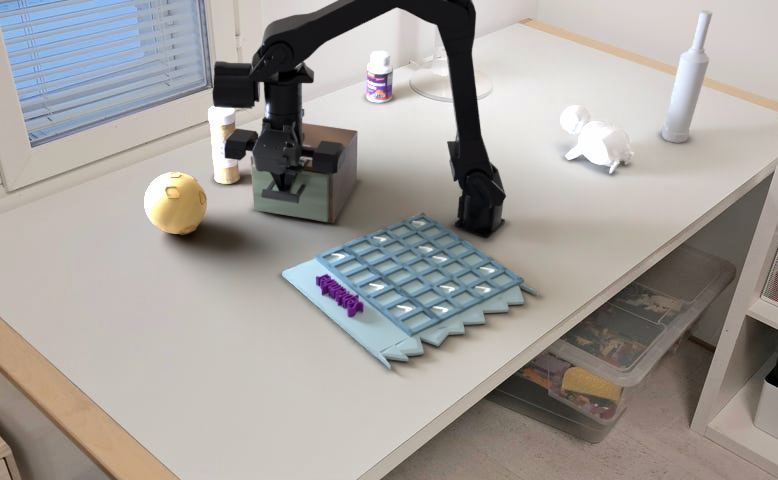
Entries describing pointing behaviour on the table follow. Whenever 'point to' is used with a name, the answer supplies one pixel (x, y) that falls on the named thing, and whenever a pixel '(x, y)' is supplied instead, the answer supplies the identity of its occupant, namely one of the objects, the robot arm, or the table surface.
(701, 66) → the bottle
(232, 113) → the sprinkles bottle
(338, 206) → the cabinet
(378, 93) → the pill bottle
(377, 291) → the calendar
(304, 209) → the drawer
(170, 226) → the stress ball
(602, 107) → the table surface
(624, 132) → the white animal figurine
